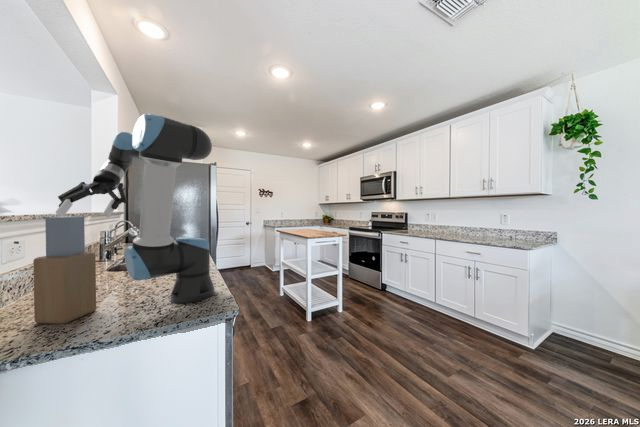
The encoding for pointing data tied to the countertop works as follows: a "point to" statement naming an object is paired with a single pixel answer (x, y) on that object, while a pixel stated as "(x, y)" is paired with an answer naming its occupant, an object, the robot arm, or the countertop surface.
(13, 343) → the countertop surface
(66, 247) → the slate block
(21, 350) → the countertop surface
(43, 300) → the wooden block
